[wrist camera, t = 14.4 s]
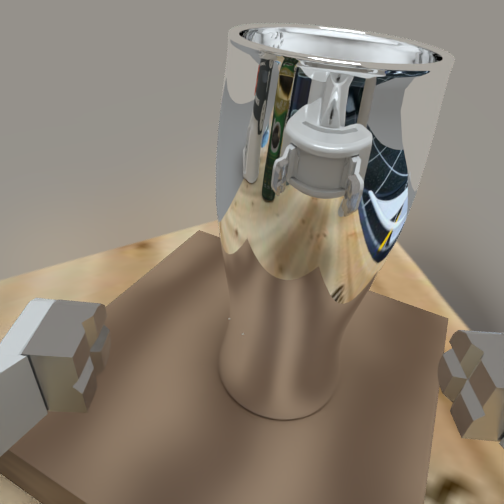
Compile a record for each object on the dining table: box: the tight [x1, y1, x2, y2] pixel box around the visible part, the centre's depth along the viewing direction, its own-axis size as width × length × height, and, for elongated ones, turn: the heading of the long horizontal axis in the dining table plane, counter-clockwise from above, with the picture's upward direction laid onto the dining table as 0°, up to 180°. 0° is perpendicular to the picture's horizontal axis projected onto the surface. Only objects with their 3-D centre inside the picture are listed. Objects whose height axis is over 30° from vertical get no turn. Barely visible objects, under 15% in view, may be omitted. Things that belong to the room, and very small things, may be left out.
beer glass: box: [216, 23, 455, 420], centre depth 16 cm, size 7×7×15 cm
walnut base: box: [0, 230, 448, 504], centre depth 22 cm, size 18×18×4 cm
